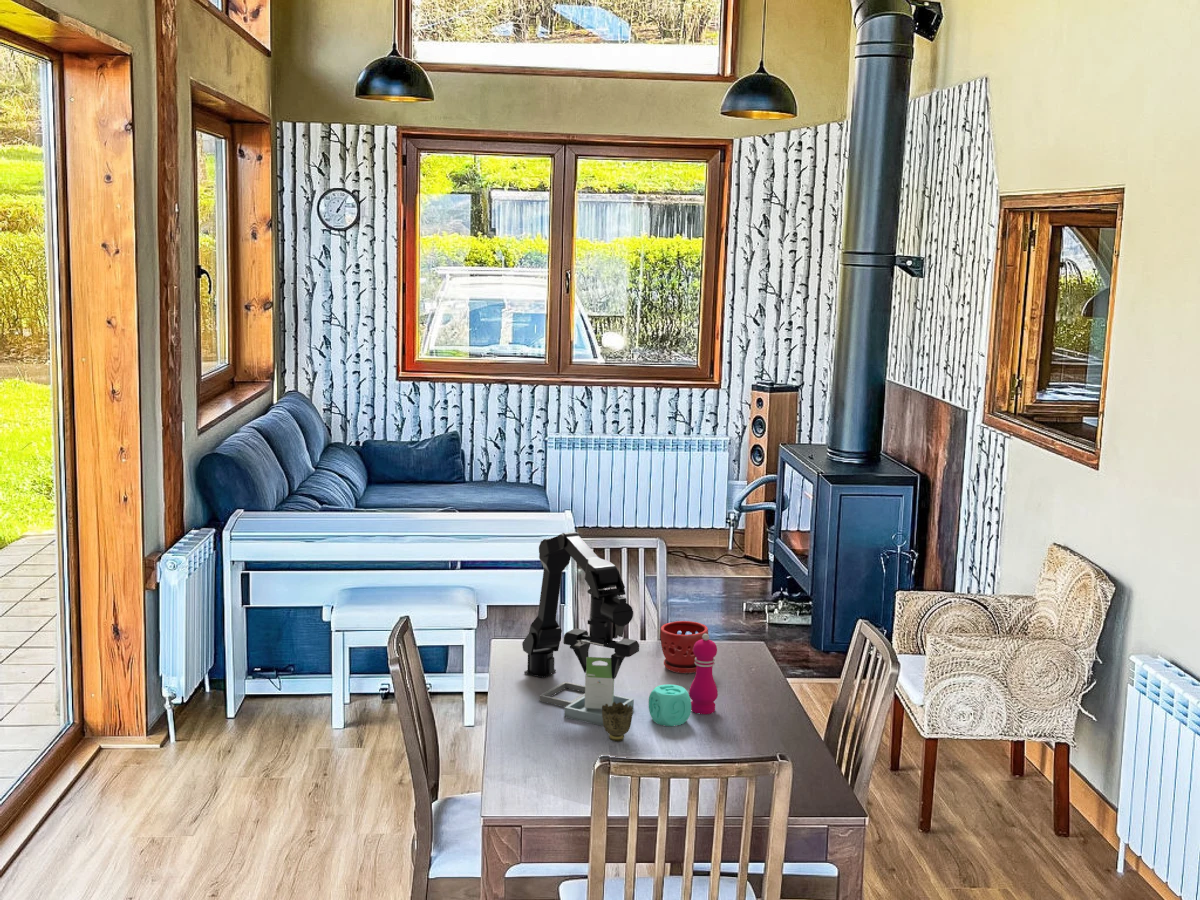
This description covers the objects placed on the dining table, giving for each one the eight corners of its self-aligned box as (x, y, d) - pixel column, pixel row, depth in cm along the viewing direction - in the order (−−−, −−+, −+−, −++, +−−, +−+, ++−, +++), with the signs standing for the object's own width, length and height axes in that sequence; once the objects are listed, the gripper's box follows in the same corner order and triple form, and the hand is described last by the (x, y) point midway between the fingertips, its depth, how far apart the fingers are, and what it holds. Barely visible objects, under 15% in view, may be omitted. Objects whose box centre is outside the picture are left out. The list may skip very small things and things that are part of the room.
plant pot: (675, 657, 362) (677, 617, 360) (715, 667, 355) (717, 626, 353) (650, 669, 352) (651, 627, 350) (690, 680, 344) (692, 637, 342)
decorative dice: (676, 713, 320) (677, 682, 318) (691, 724, 313) (692, 693, 311) (647, 717, 317) (648, 686, 315) (661, 728, 309) (662, 697, 308)
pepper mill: (721, 708, 324) (724, 632, 321) (711, 717, 317) (714, 639, 314) (694, 703, 327) (697, 627, 324) (684, 712, 320) (687, 635, 317)
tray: (564, 717, 315) (564, 707, 314) (593, 699, 327) (593, 690, 327) (605, 726, 309) (605, 716, 309) (633, 708, 322) (633, 699, 322)
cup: (609, 747, 297) (610, 715, 295) (595, 736, 303) (596, 704, 302) (637, 742, 300) (638, 710, 299) (622, 731, 306) (623, 700, 305)
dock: (539, 701, 325) (539, 695, 325) (564, 686, 336) (564, 681, 336) (571, 708, 321) (571, 702, 320) (596, 693, 332) (596, 688, 331)
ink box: (613, 704, 320) (615, 653, 318) (612, 710, 316) (613, 658, 314) (586, 702, 321) (587, 651, 318) (584, 708, 317) (585, 656, 314)
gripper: (650, 613, 317) (648, 673, 319) (585, 601, 326) (583, 659, 328) (629, 624, 307) (627, 686, 310) (563, 611, 316) (561, 671, 319)
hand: (600, 675), depth 317 cm, fingers closed on ink box, 8 cm apart
